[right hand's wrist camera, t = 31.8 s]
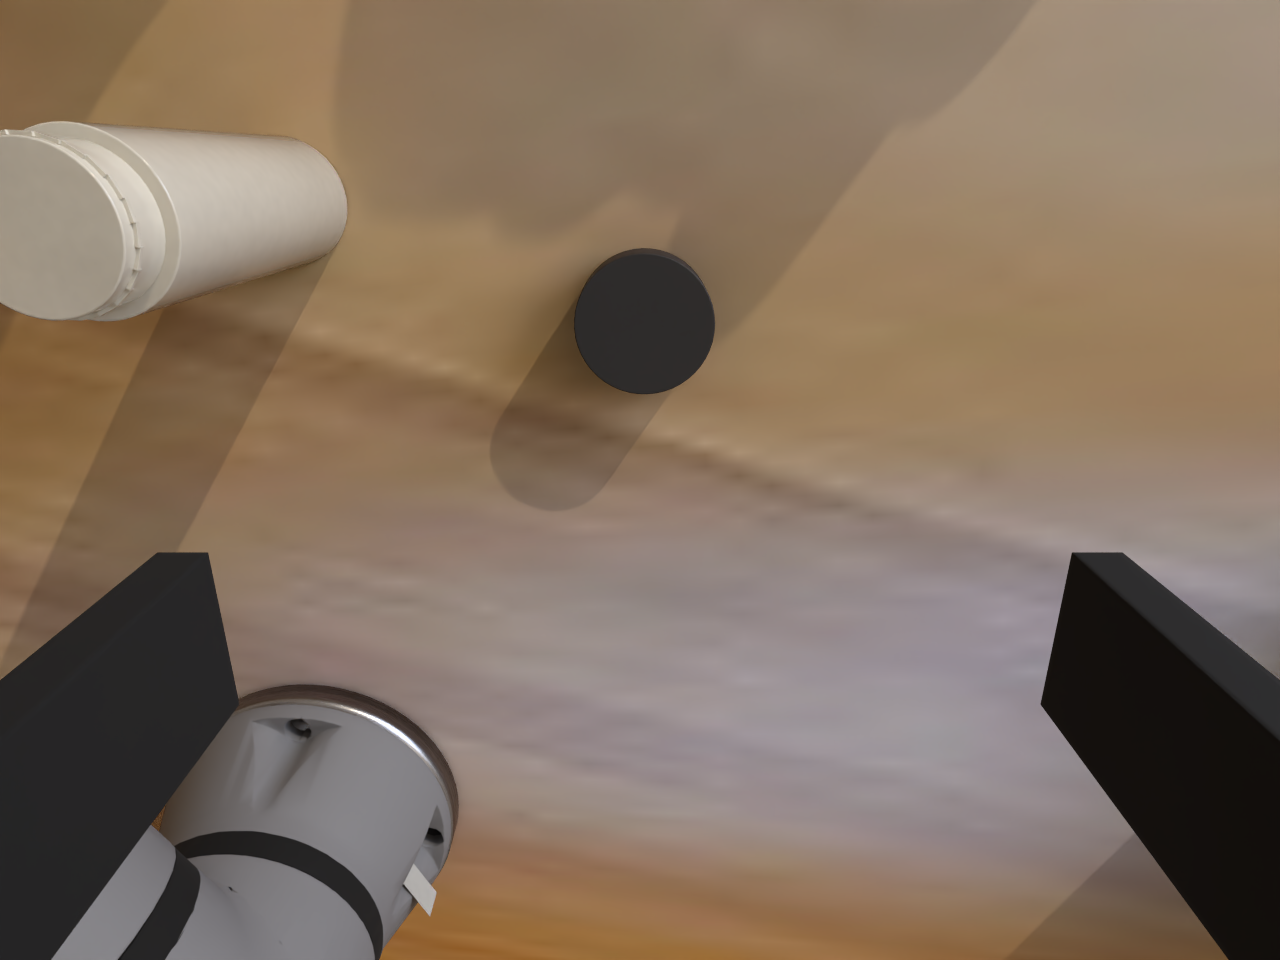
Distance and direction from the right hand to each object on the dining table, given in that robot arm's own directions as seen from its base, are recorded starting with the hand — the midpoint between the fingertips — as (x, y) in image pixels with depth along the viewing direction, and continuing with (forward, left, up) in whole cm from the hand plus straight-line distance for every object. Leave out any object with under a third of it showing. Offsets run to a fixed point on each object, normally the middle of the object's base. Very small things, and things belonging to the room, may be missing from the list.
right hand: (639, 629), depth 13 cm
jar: (-8, +14, -26) cm, 31 cm away
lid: (0, 0, -25) cm, 25 cm away
